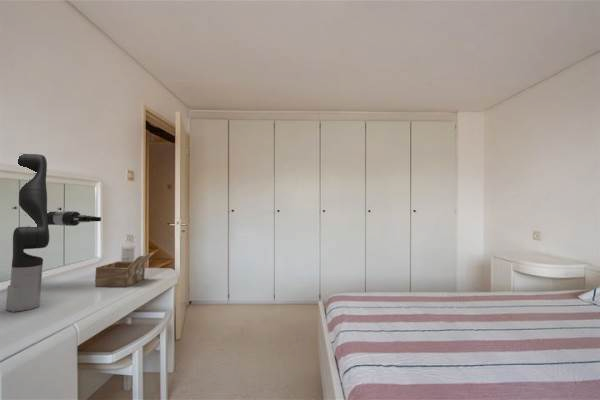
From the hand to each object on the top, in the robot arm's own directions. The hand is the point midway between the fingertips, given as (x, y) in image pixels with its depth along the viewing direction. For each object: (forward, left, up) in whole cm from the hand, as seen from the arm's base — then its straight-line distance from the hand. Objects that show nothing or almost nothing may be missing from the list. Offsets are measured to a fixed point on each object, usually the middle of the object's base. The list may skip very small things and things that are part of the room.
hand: (100, 219), depth 147 cm
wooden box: (+13, -1, -36) cm, 38 cm away
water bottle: (+27, +15, -36) cm, 47 cm away
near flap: (+17, -11, -22) cm, 30 cm away
